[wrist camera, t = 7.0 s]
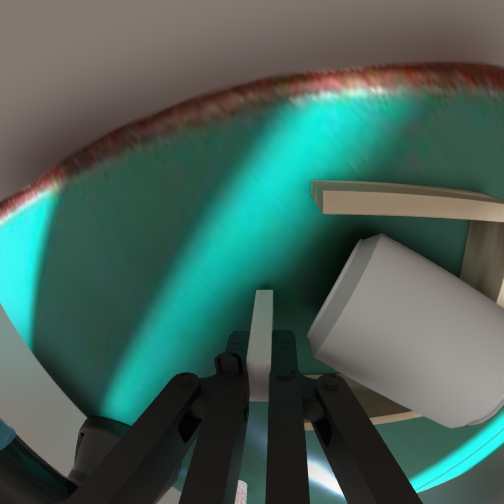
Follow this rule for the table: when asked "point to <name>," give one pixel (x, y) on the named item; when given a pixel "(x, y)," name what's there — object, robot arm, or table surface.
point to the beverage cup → (241, 493)
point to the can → (413, 334)
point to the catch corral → (422, 205)
